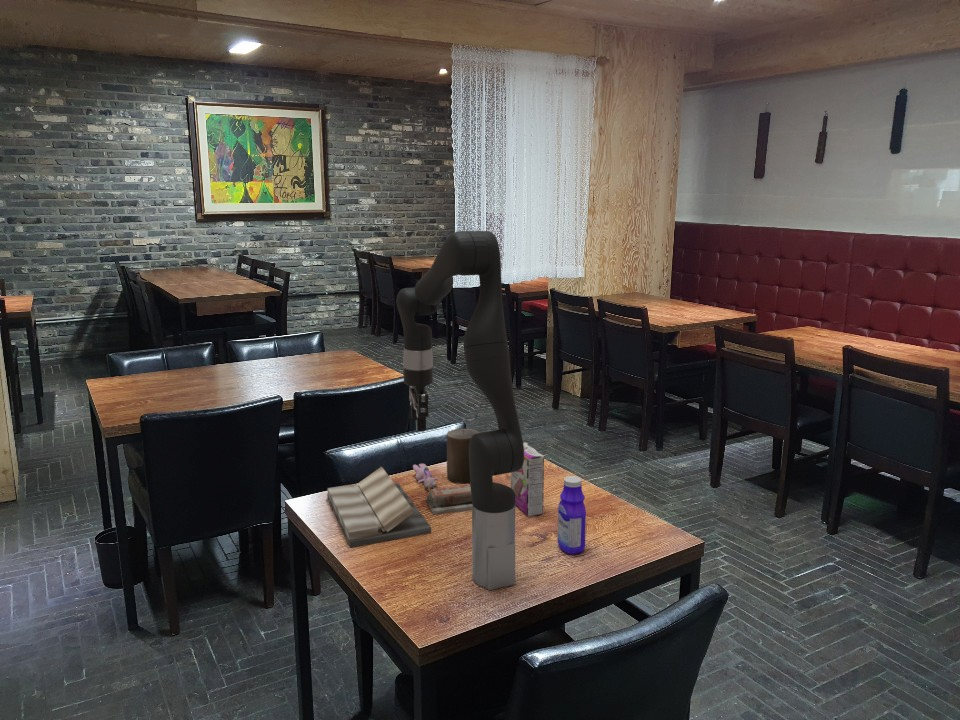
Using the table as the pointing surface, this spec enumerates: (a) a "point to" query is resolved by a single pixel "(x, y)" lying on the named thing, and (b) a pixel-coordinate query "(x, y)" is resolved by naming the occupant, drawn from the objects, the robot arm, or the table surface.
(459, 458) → the pillar candle
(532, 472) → the candy bar box
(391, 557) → the table surface
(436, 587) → the table surface
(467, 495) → the packaged product
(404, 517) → the loose plank
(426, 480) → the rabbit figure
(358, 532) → the floor section
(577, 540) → the bottle
